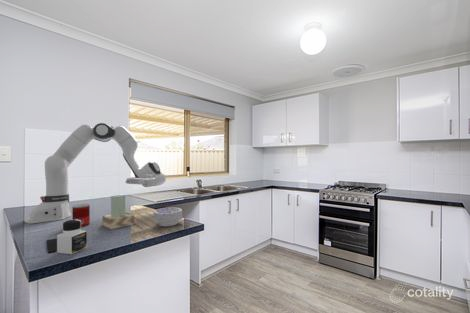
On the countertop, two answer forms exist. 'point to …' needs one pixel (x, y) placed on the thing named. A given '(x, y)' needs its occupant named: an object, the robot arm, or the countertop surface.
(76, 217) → the canned food
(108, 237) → the countertop surface
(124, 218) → the wooden base
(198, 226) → the countertop surface
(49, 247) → the cell phone
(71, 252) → the medicine bottle
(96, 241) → the countertop surface
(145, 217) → the countertop surface
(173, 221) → the paper bowls
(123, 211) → the sage green post
